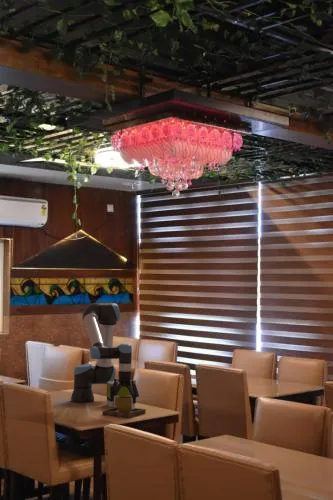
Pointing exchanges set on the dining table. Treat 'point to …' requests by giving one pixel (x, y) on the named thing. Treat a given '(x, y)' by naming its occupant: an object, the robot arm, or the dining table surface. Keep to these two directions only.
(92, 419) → the dining table surface
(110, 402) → the tea box
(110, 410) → the walnut tray
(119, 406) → the flower pot
